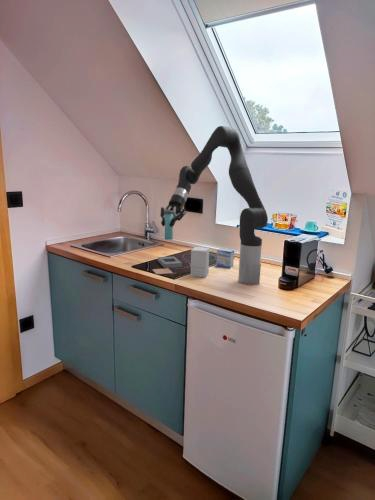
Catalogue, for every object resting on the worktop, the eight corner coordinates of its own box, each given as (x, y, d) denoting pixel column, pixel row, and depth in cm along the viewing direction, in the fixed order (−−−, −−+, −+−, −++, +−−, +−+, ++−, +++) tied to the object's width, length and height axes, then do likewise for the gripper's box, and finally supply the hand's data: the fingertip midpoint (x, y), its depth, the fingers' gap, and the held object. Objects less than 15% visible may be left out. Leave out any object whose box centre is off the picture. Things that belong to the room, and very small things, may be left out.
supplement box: (208, 273, 181) (210, 247, 178) (205, 277, 174) (206, 251, 171) (193, 271, 183) (194, 246, 180) (189, 276, 176) (190, 249, 173)
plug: (174, 239, 185) (174, 211, 182) (165, 240, 184) (165, 211, 180) (171, 237, 189) (172, 210, 186) (162, 238, 188) (163, 210, 185)
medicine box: (215, 266, 194) (216, 249, 192) (219, 264, 198) (220, 248, 196) (230, 268, 190) (231, 251, 188) (233, 266, 194) (234, 250, 192)
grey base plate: (182, 267, 189) (182, 263, 188) (164, 269, 186) (164, 264, 185) (173, 260, 202) (174, 256, 201) (157, 261, 199) (157, 257, 198)
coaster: (172, 274, 178) (172, 272, 178) (156, 275, 176) (156, 273, 175) (168, 269, 185) (168, 268, 185) (152, 270, 183) (152, 269, 183)
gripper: (164, 193, 191) (151, 219, 183) (189, 194, 185) (177, 222, 177) (169, 202, 197) (157, 228, 189) (193, 204, 191) (182, 231, 183)
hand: (166, 225), depth 183 cm, fingers closed on plug, 4 cm apart
